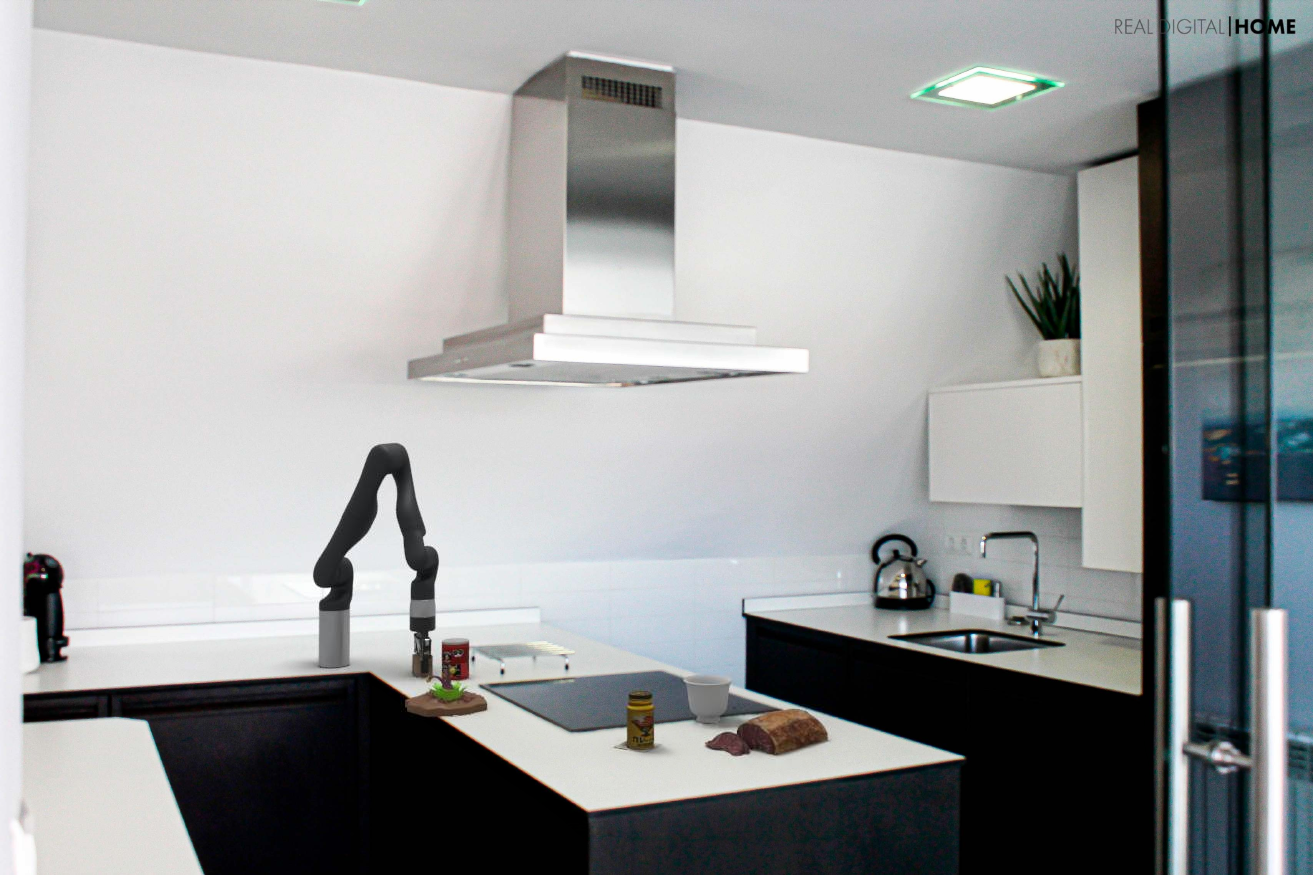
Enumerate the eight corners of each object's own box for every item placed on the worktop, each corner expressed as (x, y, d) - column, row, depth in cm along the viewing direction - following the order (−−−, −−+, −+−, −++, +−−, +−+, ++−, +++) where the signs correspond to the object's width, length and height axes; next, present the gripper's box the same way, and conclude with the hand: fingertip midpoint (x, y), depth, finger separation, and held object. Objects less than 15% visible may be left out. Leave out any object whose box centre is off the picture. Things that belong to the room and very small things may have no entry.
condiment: (646, 752, 238) (646, 697, 239) (612, 747, 242) (612, 693, 243) (662, 744, 245) (661, 690, 245) (629, 740, 249) (629, 687, 249)
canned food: (436, 679, 318) (436, 641, 318) (453, 674, 325) (453, 637, 325) (457, 681, 314) (457, 643, 314) (474, 676, 321) (474, 639, 321)
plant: (424, 721, 268) (424, 675, 268) (396, 706, 284) (397, 663, 284) (499, 711, 279) (499, 667, 279) (468, 697, 295) (469, 655, 295)
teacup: (715, 710, 278) (715, 670, 278) (741, 723, 264) (741, 681, 265) (671, 714, 274) (671, 674, 274) (695, 727, 260) (695, 685, 260)
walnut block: (412, 674, 325) (412, 654, 325) (429, 673, 327) (429, 652, 327) (415, 677, 320) (415, 656, 320) (432, 676, 322) (432, 655, 322)
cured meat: (696, 748, 242) (696, 717, 242) (763, 727, 261) (764, 699, 261) (762, 765, 230) (762, 733, 230) (828, 743, 249) (828, 712, 249)
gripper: (405, 611, 329) (405, 667, 329) (414, 618, 316) (414, 676, 316) (430, 610, 332) (430, 665, 332) (440, 616, 319) (440, 674, 318)
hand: (422, 670), depth 324 cm, fingers open, 6 cm apart
